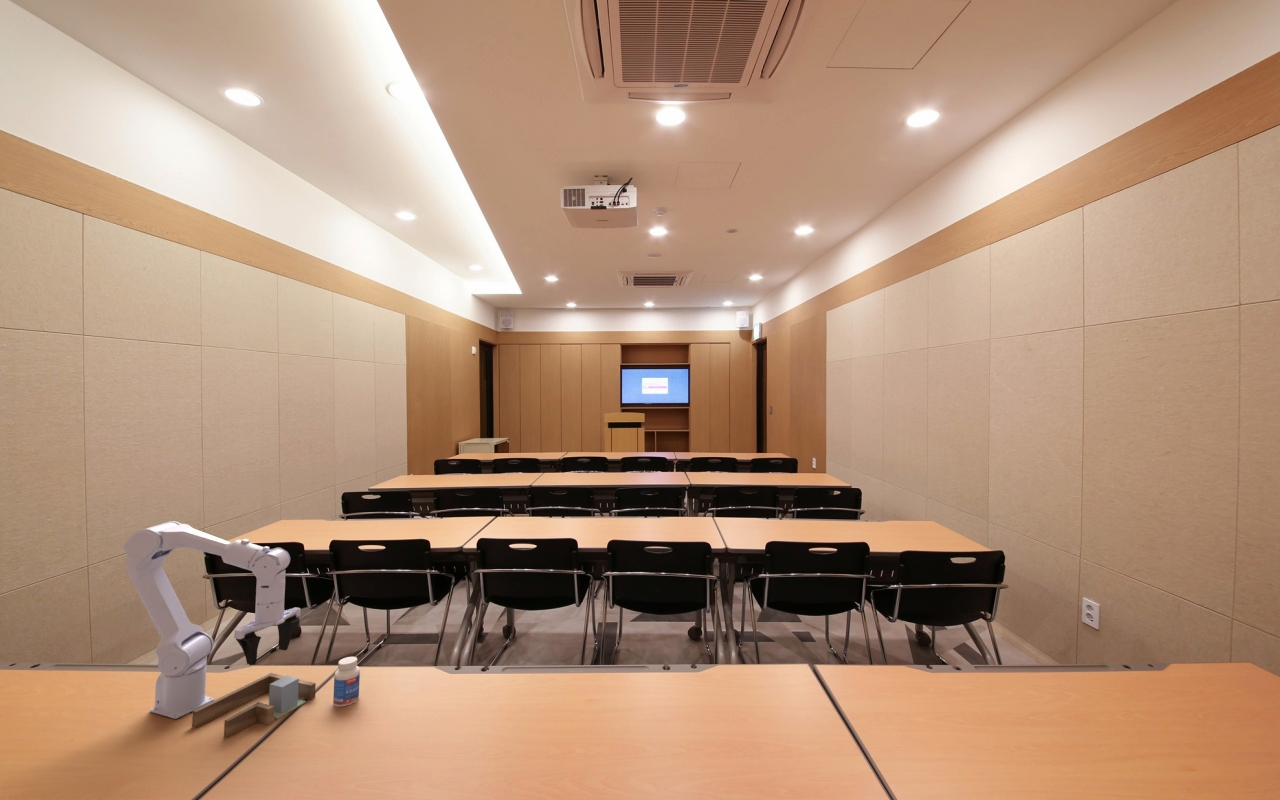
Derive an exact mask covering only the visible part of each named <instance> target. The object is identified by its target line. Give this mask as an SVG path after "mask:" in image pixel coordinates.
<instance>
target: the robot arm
mask: <svg viewBox="0 0 1280 800" xmlns="http://www.w3.org/2000/svg"><path fill="white" fill-rule="evenodd" d="M122 548H123V549H124V551H125V554H126V572H127V575H128V577H129V579H130V581H131V583H132V585H133V586H134V589H135V590H136V592H137V594H138V596H139V599H140V601H141V603H142V604H143V606H144V607H145V610H146V612H147V614H148V616H149V618H150V620H151V622H152V624H153V625H154V628H155V630H156V631H157V633H158V635H159V637H160V640H159V641H158V645H157V647H156V650H155V654H156V656H157V659H158V661H157V667H158V670H159V672H160V674H159V675H158V677H157V678H156V681H155V690H154V691H155V692H154V693H155V695H154V707H151V708H150V709H149V712H151V713H154V714H157V715H159V716H164V717H167V718H171V719H174V720H175V719H179V718H181V717H183V716H185V715H187V714H189V713H191V712H192V713H193V711H194V710H196V709H198V708H200V707H202V706H204V705H206V704H208V703H210V702H212V701H214V700H215V698H214V697H212V696H208V695H206V684H207V683H206V682H207V681H206V680H207V661H208V655H209V654H210V653H211V652H212V651H213V649H214V646H215V645H214V639H213V638H212V636H211V635H210V634H208V633H206V632H205V631H204V629H203V627H202V626H201V625H199V624H196V623H195V624H194V623H192V622H191V620H190V619H189V617H188V615H187V612H186V611H185V609H184V608H183V605H182V604H181V601H180V599H179V597H178V596H177V594H176V592H175V589H174V587H173V585H172V583H171V581H170V580H169V578H168V576H167V574H166V572H165V570H164V568H163V564H164V562H165V561H166V559H167V557H168V556H169V555H170V553H171V552H173V551H174V550H176V549H180V548H188V549H193V550H197V551H201V552H204V553H208V554H211V555H216V556H220V557H221V560H222V562H223V564H224V563H225V564H227V565H232V566H235V567H238V568H240V569H244V570H247V571H251V573H252V574H253V575H254V576H255V577H256V588H255V592H256V593H255V611H254V612H255V613H254V619H253V620H252V621H250V622H248V623H246V624H244V625H243V626H241V627H239V628H236V629H234V633H233V634H234V637H233V638H234V639H235V640H236V641H237V643H238V644H239V646H240V647H241V649H242V651H243V654H244V657H245V662H246V664H247V665H251V666H254V665H256V663H257V660H258V647H259V646H260V645H259V644H260V640H261V639H262V637H261V636H259V635H257V632H259V631H261V630H264V629H267V628H270V627H272V626H277V631H278V649H279V650H280V651H281V650H282V651H288V649H289V646H290V643H291V639H292V637H293V634H294V632H295V631H296V628H297V627H298V626H299V624H300V620H301V619H300V618H298V617H301V611H302V610H301V608H300V607H292V608H289V609H286V610H285V598H286V597H285V593H286V592H285V591H286V568H288V566H289V565H290V563H291V556H290V554H289V552H288V550H285V549H284V548H282V547H275V548H270V546H267V545H266V546H261V545H258V544H255V543H252V542H251V540H250V539H247V538H244V539H236V540H234V541H232V542H230V541H228V540H225V539H223V538H220V537H217V536H214V535H211V534H209V533H206V532H203V531H201V530H198V529H196V528H193V527H192V526H190V524H188V523H181V522H179V521H174V520H170V521H165V522H163V523H159V524H157V525H153V526H150V527H147V528H141V529H137V530H136V531H134V532H132V533H131V535H129V537H128V539H127V540H126V542H125V543H124V545H123V546H122Z"/></svg>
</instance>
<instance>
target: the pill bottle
mask: <svg viewBox="0 0 1280 800" xmlns="http://www.w3.org/2000/svg"><path fill="white" fill-rule="evenodd" d="M337 665H338V667H337V670H336V671H335V673H334V677H333V678H334V679H333V697H332V698H333V700H332V701H333V705H334V707H337V708H342V706H343V707H348V706H350V705H352V703H353V704H354V703H355V701H356V700H357V699H358V700H359V696H360V677H361V675H360V674H361V669H360V667H359V666H358V657H356V656H347V657H344V658H342V659H340V660H339V661H338V664H337ZM358 700H357V701H358ZM357 701H356V702H357ZM347 705H348V706H347Z"/></svg>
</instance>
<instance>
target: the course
mask: <svg viewBox="0 0 1280 800" xmlns="http://www.w3.org/2000/svg"><path fill="white" fill-rule="evenodd" d="M285 676H286V675H283V674H278V673H273V672H270V673H268V674H266V675H264V676H262V677H260V678H258V679H257V678H256V679H255V680H253V681H251V682H249V683H248V684H245V685H243V686H241V687H239V688H237V689H234V690H233V691H231V692H228V693H227V694H225V695H223V696H220V697H219V698H216V699H214V701H212V702H210V703H208V704H206V705H204V706H202V707H200V708H198V709H196V710H194V711H192V722H191V727H192V728H195V729H197V728H199V727H200V726H202V725H204V724H206V723H208V722H210V721H212V720H214V719H216V718H218V717H220V716H222V715H224V714H226V713H228V712H230V711H231V710H233V709H235V708H237V707H240V706H241V705H243V704H245V703H247V702H248V701H251V700H252V699H254V698H256V697H259V696H261V695H262V694H264V693H266V692H269V690H270V684H271V683H273V682H275V681H277V680H279V679H281V678H283V677H285ZM316 685H317V684H316V682H312V681H308V680H305V679H299V683H298V698H299V699H304V700H309V701H312V700H314V699H315V698H316ZM274 719H275V718H274V706H271V705H269V704H268V703H263V702H259V701H258V702H255V703H253V704H251V705H250V706H248V707H247V708H244V709H243V710H240V711H238V712H237V713H235V714H233V715H231V716H229V717H227V718H225V719H224V721H223V724H224V725H223V726H224V727H223V729H224V730H223V737H225V738H230V737H231V736H233V735H235V734H237V733H238V732H240V731H242V730H243V729H246V728H247V727H249V726H251V725H253V724H255V723H258V724H263V725H267V726H269V725H270V724H272V723H274Z"/></svg>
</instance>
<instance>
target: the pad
mask: <svg viewBox="0 0 1280 800" xmlns="http://www.w3.org/2000/svg"><path fill="white" fill-rule="evenodd" d="M306 703H307V701H306V700H305V699H304V700H303V699H301V698H298V704H297V705H295V706H293V707H292V708H290V709H288V710H286V711H285V712H283V713H278V712H274V719H275V720H278V719H280V718H282V717H283V716H285V715H286V714H288V713H290V712H292V711H293V710H296V709H297V708H299V707H300V706H302V705H303V704H306Z"/></svg>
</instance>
